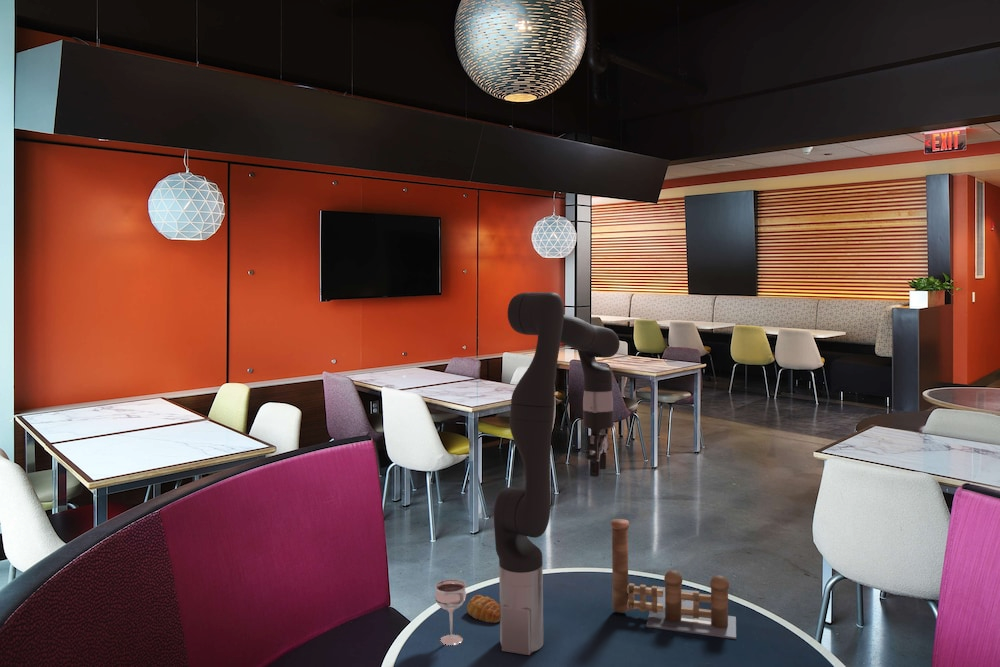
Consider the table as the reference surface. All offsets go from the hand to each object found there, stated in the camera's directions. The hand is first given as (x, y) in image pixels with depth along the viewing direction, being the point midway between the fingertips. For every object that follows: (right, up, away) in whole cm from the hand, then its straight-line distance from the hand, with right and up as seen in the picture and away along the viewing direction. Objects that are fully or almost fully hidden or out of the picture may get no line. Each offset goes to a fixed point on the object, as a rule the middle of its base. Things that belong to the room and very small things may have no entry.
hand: (598, 472), depth 175 cm
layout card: (+20, -30, -13) cm, 38 cm away
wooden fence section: (+7, -29, -15) cm, 33 cm away
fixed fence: (+19, -30, -19) cm, 41 cm away
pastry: (-28, -31, -13) cm, 44 cm away
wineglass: (-35, -31, -25) cm, 53 cm away
